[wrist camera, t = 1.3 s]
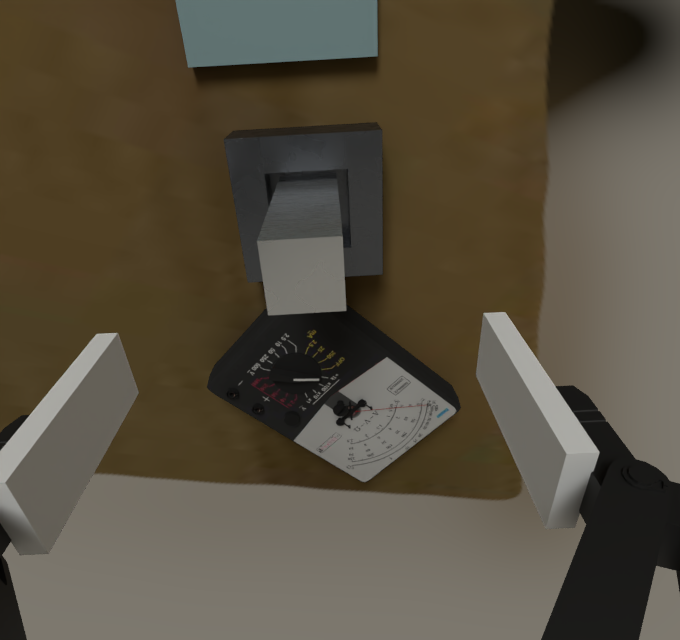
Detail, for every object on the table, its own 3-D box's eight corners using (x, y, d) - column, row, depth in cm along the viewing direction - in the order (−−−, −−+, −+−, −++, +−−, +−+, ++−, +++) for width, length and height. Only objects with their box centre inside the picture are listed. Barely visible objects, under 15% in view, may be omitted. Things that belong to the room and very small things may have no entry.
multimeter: (301, 266, 38) (298, 293, 33) (455, 385, 45) (469, 420, 40) (211, 365, 42) (198, 400, 38) (363, 459, 49) (366, 498, 45)
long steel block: (286, 229, 35) (268, 315, 23) (280, 175, 33) (256, 241, 21) (339, 226, 35) (346, 310, 23) (336, 172, 33) (342, 236, 21)
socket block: (254, 263, 37) (247, 282, 34) (233, 130, 32) (223, 139, 29) (378, 256, 37) (382, 274, 34) (376, 122, 32) (382, 129, 29)
